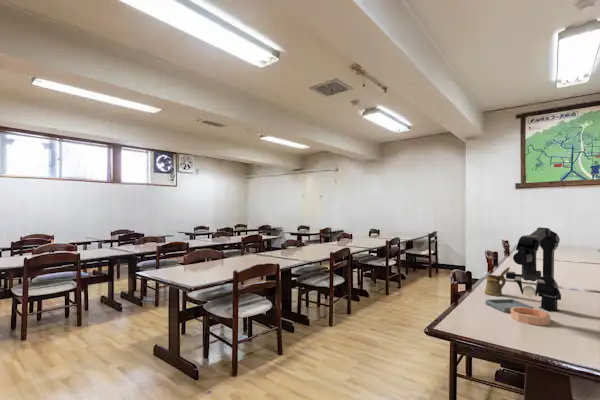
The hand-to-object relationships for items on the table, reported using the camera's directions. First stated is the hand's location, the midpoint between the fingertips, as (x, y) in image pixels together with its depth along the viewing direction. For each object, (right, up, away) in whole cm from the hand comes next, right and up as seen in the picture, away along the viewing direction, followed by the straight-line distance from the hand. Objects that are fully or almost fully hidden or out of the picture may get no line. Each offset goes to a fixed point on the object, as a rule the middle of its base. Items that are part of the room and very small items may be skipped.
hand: (529, 295), depth 154 cm
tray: (+1, -12, +17) cm, 20 cm away
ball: (0, +2, 0) cm, 2 cm away
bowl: (0, -11, -1) cm, 11 cm away
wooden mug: (+10, -12, +42) cm, 45 cm away
